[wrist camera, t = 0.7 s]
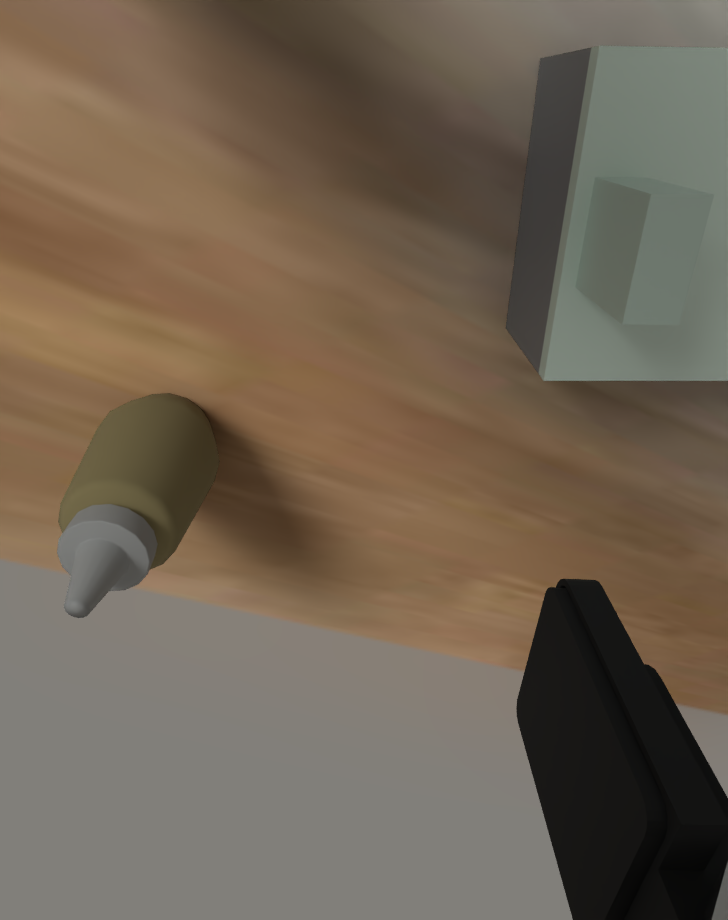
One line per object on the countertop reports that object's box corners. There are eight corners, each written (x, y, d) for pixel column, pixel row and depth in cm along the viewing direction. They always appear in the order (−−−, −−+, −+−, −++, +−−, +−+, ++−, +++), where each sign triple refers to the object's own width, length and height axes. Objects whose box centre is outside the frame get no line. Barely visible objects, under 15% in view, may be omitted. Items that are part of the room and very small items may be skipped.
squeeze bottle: (171, 496, 47) (87, 692, 31) (87, 420, 44) (-55, 597, 28) (251, 438, 45) (203, 618, 29) (169, 353, 41) (64, 505, 26)
